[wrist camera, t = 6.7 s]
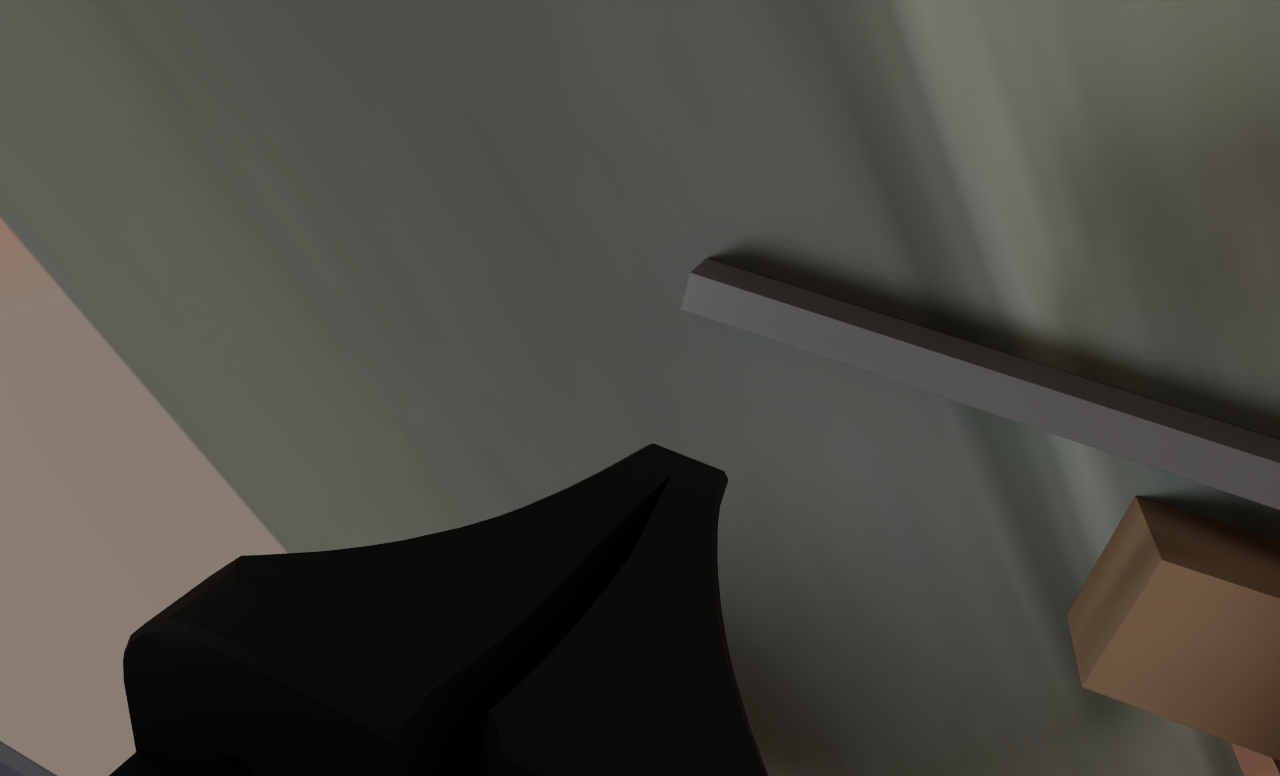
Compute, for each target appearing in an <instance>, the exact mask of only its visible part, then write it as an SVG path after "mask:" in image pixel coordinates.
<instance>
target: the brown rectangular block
mask: <svg viewBox="0 0 1280 776" xmlns="http://www.w3.org/2000/svg"><path fill="white" fill-rule="evenodd" d="M1067 618H1068V623H1069V628H1070V633H1071V638H1072V642H1073V647H1074V652H1075V657H1076V662H1077V667H1078V672H1079V676H1080V681H1081V686H1082V687H1084V688H1086V689H1089V690H1092V691H1094V692H1097V693H1100V694H1102V695H1105V696H1108V697H1110V698H1113V699H1116V700H1119V701H1121V702H1124V703H1127V704H1129V705H1132V706H1135V707H1137V708H1140V709H1143V710H1145V711H1148V712H1151V713H1153V714H1156V715H1159V716H1161V717H1164V718H1167V719H1169V720H1172V721H1175V722H1177V723H1180V724H1183V725H1185V726H1188V727H1191V728H1193V729H1196V730H1199V731H1201V732H1204V733H1207V734H1209V735H1212V736H1215V737H1217V738H1220V739H1223V740H1225V741H1228V742H1231V743H1233V744H1236V745H1239V746H1241V747H1244V748H1247V749H1249V750H1252V751H1255V752H1257V753H1260V754H1263V755H1265V756H1268V757H1271V758H1273V759H1276V760H1279V761H1280V541H1279V540H1276V539H1273V538H1269V537H1266V536H1263V535H1260V534H1256V533H1253V532H1250V531H1247V530H1244V529H1240V528H1237V527H1234V526H1231V525H1228V524H1224V523H1221V522H1218V521H1215V520H1211V519H1208V518H1205V517H1202V516H1199V515H1195V514H1192V513H1189V512H1186V511H1183V510H1179V509H1176V508H1173V507H1170V506H1166V505H1163V504H1160V503H1157V502H1154V501H1150V500H1147V499H1144V498H1141V497H1138V496H1135V498H1134V499H1133V501H1132V503H1131V504H1130V506H1129V508H1128V510H1127V511H1126V513H1125V515H1124V516H1123V518H1122V520H1121V522H1120V523H1119V525H1118V527H1117V528H1116V530H1115V532H1114V534H1113V535H1112V537H1111V539H1110V541H1109V542H1108V544H1107V546H1106V547H1105V549H1104V551H1103V553H1102V554H1101V556H1100V558H1099V559H1098V561H1097V563H1096V565H1095V566H1094V568H1093V570H1092V571H1091V573H1090V575H1089V577H1088V578H1087V580H1086V582H1085V583H1084V585H1083V587H1082V589H1081V590H1080V592H1079V594H1078V595H1077V597H1076V599H1075V601H1074V602H1073V604H1072V606H1071V608H1070V609H1069V611H1068V613H1067Z"/></svg>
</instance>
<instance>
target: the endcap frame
mask: <svg viewBox="0 0 1280 776" xmlns="http://www.w3.org/2000/svg"><path fill="white" fill-rule="evenodd" d="M681 309H683V310H686V311H689V312H692V313H695V314H698V315H701V316H704V317H707V318H710V319H712V320H715V321H718V322H721V323H724V324H727V325H730V326H733V327H736V328H739V329H742V330H745V331H748V332H751V333H754V334H757V335H760V336H763V337H766V338H769V339H772V340H775V341H778V342H781V343H784V344H787V345H790V346H793V347H796V348H799V349H802V350H805V351H808V352H811V353H814V354H817V355H820V356H823V357H826V358H829V359H832V360H835V361H838V362H840V363H843V364H846V365H849V366H852V367H855V368H858V369H861V370H864V371H867V372H870V373H873V374H876V375H879V376H882V377H885V378H888V379H891V380H894V381H897V382H900V383H903V384H906V385H909V386H912V387H915V388H918V389H921V390H924V391H927V392H930V393H933V394H936V395H939V396H942V397H945V398H948V399H951V400H954V401H957V402H960V403H963V404H966V405H969V406H971V407H974V408H977V409H980V410H983V411H986V412H989V413H992V414H995V415H998V416H1001V417H1004V418H1007V419H1010V420H1013V421H1016V422H1019V423H1022V424H1025V425H1028V426H1031V427H1034V428H1037V429H1040V430H1043V431H1046V432H1049V433H1052V434H1055V435H1058V436H1061V437H1064V438H1067V439H1070V440H1073V441H1076V442H1079V443H1082V444H1085V445H1088V446H1091V447H1094V448H1097V449H1099V450H1102V451H1105V452H1108V453H1111V454H1114V455H1117V456H1120V457H1123V458H1126V459H1129V460H1132V461H1135V462H1138V463H1141V464H1144V465H1147V466H1150V467H1153V468H1156V469H1159V470H1162V471H1165V472H1168V473H1171V474H1174V475H1177V476H1180V477H1183V478H1186V479H1189V480H1192V481H1195V482H1198V483H1201V484H1204V485H1207V486H1210V487H1213V488H1216V489H1219V490H1222V491H1225V492H1228V493H1230V494H1233V495H1236V496H1239V497H1242V498H1245V499H1248V500H1251V501H1254V502H1257V503H1260V504H1263V505H1266V506H1269V507H1272V508H1275V509H1278V510H1280V440H1278V439H1275V438H1272V437H1269V436H1265V435H1262V434H1259V433H1256V432H1253V431H1250V430H1247V429H1243V428H1240V427H1237V426H1234V425H1231V424H1228V423H1224V422H1221V421H1218V420H1215V419H1212V418H1209V417H1206V416H1202V415H1199V414H1196V413H1193V412H1190V411H1187V410H1183V409H1180V408H1177V407H1174V406H1171V405H1168V404H1165V403H1161V402H1158V401H1155V400H1152V399H1149V398H1146V397H1142V396H1139V395H1136V394H1133V393H1130V392H1127V391H1124V390H1120V389H1117V388H1114V387H1111V386H1108V385H1105V384H1101V383H1098V382H1095V381H1092V380H1089V379H1086V378H1083V377H1079V376H1076V375H1073V374H1070V373H1067V372H1064V371H1060V370H1057V369H1054V368H1051V367H1048V366H1045V365H1042V364H1038V363H1035V362H1032V361H1029V360H1026V359H1023V358H1019V357H1016V356H1013V355H1010V354H1007V353H1004V352H1001V351H997V350H994V349H991V348H988V347H985V346H982V345H978V344H975V343H972V342H969V341H966V340H963V339H960V338H956V337H953V336H950V335H947V334H944V333H941V332H937V331H934V330H931V329H928V328H925V327H922V326H919V325H915V324H912V323H909V322H906V321H903V320H900V319H896V318H893V317H890V316H887V315H884V314H881V313H878V312H874V311H871V310H868V309H865V308H862V307H859V306H855V305H852V304H849V303H846V302H843V301H840V300H837V299H833V298H830V297H827V296H824V295H821V294H818V293H814V292H811V291H808V290H805V289H802V288H799V287H796V286H792V285H789V284H786V283H783V282H780V281H777V280H773V279H770V278H767V277H764V276H761V275H758V274H755V273H751V272H748V271H745V270H742V269H739V268H736V267H732V266H729V265H726V264H723V263H720V262H717V261H714V260H710V259H707V258H706V259H705V260H704V261H703V262H702V263H700V264H699V265H698V266H697V267H696V268H695V269H694V270H692V271H691V272H690V275H689V279H688V283H687V287H686V291H685V295H684V299H683V303H682V307H681ZM1231 745H1232V747H1233V750H1234V752H1235V755H1236V757H1237V760H1238V762H1239V765H1240V767H1241V769H1242V772H1243V774H1244V776H1280V761H1279V760H1276V759H1273V758H1271V757H1268V756H1265V755H1263V754H1260V753H1257V752H1255V751H1252V750H1249V749H1247V748H1244V747H1241V746H1239V745H1236V744H1233V743H1231Z"/></svg>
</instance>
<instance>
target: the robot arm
mask: <svg viewBox="0 0 1280 776" xmlns="http://www.w3.org/2000/svg"><path fill="white" fill-rule="evenodd" d="M727 483H728V478H727V476H726V474H725V472H724V471H722V470H720V469H717V468H715V467H712V466H710V465H707V464H704V463H702V462H699V461H697V460H694V459H692V458H689V457H687V456H684V455H681V454H679V453H676V452H674V451H671V450H669V449H666V448H664V447H661V446H658V445H656V444H650V445H648V446H646V447H644V448H642V449H640V450H638V451H637V452H635V453H633V454H631V455H629V456H628V457H626V458H624V459H622V460H621V461H619V462H617V463H615V464H613V465H612V466H610V467H608V468H606V469H604V470H602V471H600V472H599V473H597V474H595V475H593V476H591V477H589V478H587V479H585V480H583V481H581V482H579V483H577V484H575V485H573V486H571V487H569V488H566V489H564V490H562V491H560V492H558V493H555V494H553V495H551V496H548V497H546V498H544V499H541V500H539V501H537V502H534V503H532V504H530V505H527V506H525V507H522V508H520V509H517V510H514V511H512V512H509V513H506V514H504V515H501V516H498V517H495V518H491V519H488V520H485V521H482V522H478V523H475V524H472V525H468V526H464V527H461V528H456V529H452V530H448V531H443V532H439V533H434V534H430V535H425V536H421V537H417V538H412V539H408V540H402V541H397V542H390V543H384V544H378V545H372V546H364V547H356V548H348V549H340V550H331V551H320V552H305V553H288V554H272V555H253V556H252V555H251V556H240V557H239V558H237V559H235V560H234V561H232V562H231V563H229V564H228V565H226V566H225V567H223V568H222V569H220V570H219V571H217V572H216V573H214V574H213V575H211V576H210V577H208V578H207V579H205V580H204V581H203V582H202V583H200V584H199V585H197V586H196V587H194V588H193V589H192V590H190V591H189V592H188V593H186V594H185V595H184V596H182V597H181V598H179V599H178V600H177V601H175V602H174V603H173V604H171V605H170V606H168V607H167V608H166V609H165V610H163V611H162V612H160V613H159V614H158V615H156V616H155V617H153V618H152V619H151V620H149V621H148V622H147V623H145V624H144V625H143V626H142V627H140V628H139V629H138V630H137V631H135V632H134V633H133V634H132V635H131V636H130V639H129V641H128V644H127V647H126V649H125V652H124V659H123V670H124V684H125V690H126V696H127V701H128V707H129V713H130V719H131V723H132V730H133V735H134V741H135V747H136V753H135V754H134V755H132V756H131V757H130V758H129V759H128V760H126V761H125V762H124V763H123V764H122V765H121V766H120V767H118V768H117V769H116V770H115V771H114V772H113V773H112V774H110V775H109V776H768V774H767V771H766V769H765V767H764V764H763V761H762V759H761V756H760V753H759V751H758V748H757V745H756V743H755V740H754V737H753V735H752V732H751V729H750V726H749V723H748V719H747V716H746V713H745V709H744V706H743V703H742V699H741V696H740V693H739V689H738V686H737V683H736V680H735V676H734V672H733V668H732V663H731V659H730V654H729V650H728V646H727V640H726V635H725V629H724V623H723V617H722V610H721V602H720V592H719V580H718V563H717V532H718V518H719V510H720V504H721V501H722V498H723V495H724V492H725V489H726V486H727ZM0 776H57V775H55V774H53V773H52V772H50V771H48V770H47V769H45V768H44V767H42V766H40V765H39V764H37V763H35V762H33V761H32V760H30V759H29V758H27V757H25V756H24V755H22V754H21V753H19V752H17V751H16V750H14V749H13V748H11V747H9V746H8V745H6V744H4V743H3V742H1V741H0Z"/></svg>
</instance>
